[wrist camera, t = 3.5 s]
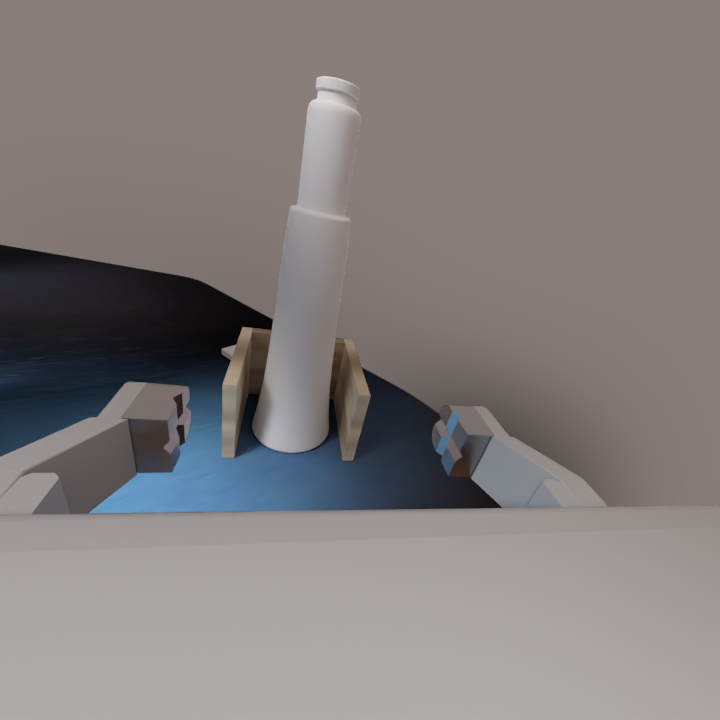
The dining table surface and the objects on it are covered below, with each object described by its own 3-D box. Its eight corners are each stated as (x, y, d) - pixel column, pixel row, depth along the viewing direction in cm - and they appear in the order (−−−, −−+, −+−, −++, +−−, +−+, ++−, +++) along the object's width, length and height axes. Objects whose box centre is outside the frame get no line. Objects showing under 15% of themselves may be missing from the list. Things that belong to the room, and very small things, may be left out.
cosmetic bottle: (278, 395, 30) (312, 92, 19) (339, 419, 28) (409, 110, 18) (235, 434, 24) (248, 48, 14) (307, 466, 23) (380, 70, 13)
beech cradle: (352, 460, 24) (370, 395, 22) (221, 457, 22) (222, 384, 19) (340, 395, 32) (352, 339, 29) (240, 387, 29) (242, 326, 26)
